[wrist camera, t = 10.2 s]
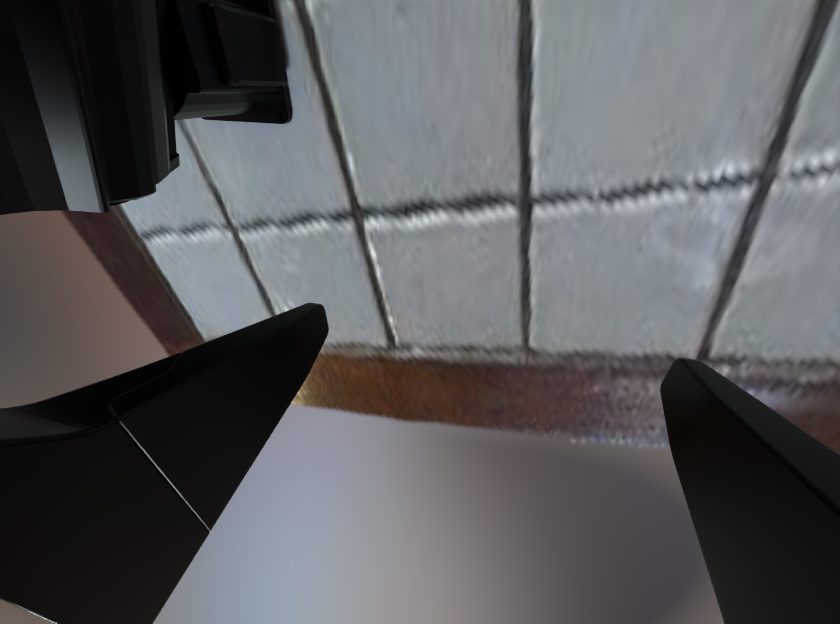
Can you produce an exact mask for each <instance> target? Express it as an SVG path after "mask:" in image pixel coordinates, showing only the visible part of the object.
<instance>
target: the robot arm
mask: <svg viewBox="0 0 840 624" xmlns="http://www.w3.org/2000/svg"><path fill="white" fill-rule="evenodd" d="M281 110H283V111H284V114H285V115H284V118H283V117H282V115H281ZM191 118H202V119H205V120H222V121H240V122H259V123H277V124H285V123H289V122H290V121H291V120H292V110H291V105H290V99H289V93H288V87H287V75H286V69H285V63H284V57H283V52H282V46H281V40H280V34H279V28H278V24H277V23H276V18H275V12H274V7H273V1H272V0H0V215H4V214H11V213H20V212H29V211H50V210H51V211H52V210H74V211H87V212H100V213H106V212H109V211H110V206H113V205H118V204H121V203H125V202H128V201H130V200H136V199H139V198H143V197H146V196H149V195H151V194H153V193H155V192H156V184H158V183H159V182H161V181H162V180H163V179H164V178H165V177H166V176H167V175H169V173H170V172H172V171H173V170H174V169H176V168H177V167H179V165H180V162H179V154H178V153H176V138H175V122H174V120H180V119H191ZM328 331H329V327H328V322H327V317H326V313H325V309H324V307H323V305H321V304H315V303H307V304H304V305H302V306H299V307H296V308H294V309H291V310H289V311H286V312H284V313H281V314H278V315H276V316H273V317H271V318H268V319H265V320H263V321H260V322H258V323H255V324H252V325H250V326H247V327H245V328H242V329H240V330H237V331H234V332H232V333H229V334H227V335H224V336H221V337H219V338H216V339H214V340H211V341H208V342H206V343H203V344H201V345H198V346H196V347H193V348H190V349H188V350H185V351H183V353H177V354H175V355H172V356H169V357H167V358H164V359H162V360H159V361H156V362H154V363H151V364H148V365H146V366H143V367H140V368H137V369H134V370H132V371H129V372H126V373H123V374H120V375H117V376H114V377H112V378H108V379H106V380H102V381H100V382H97V383H93V384H90V385H87V386H84V387H81V388H79V389H75V390H72V391H70V392H67V393H64V394H61V395H58V396H55V397H52V398H49V399H45V400H42V401H39V402H35V403H31V404H27V405H23V406H16V407H10V408H1V409H0V624H153V622H154V621H155V619H156V617H157V616H158V614H159V613H160V611H161V609H162V608H163V606H164V605H165V603H166V601H167V600H168V598H169V597H170V595H171V593H172V592H173V590H174V589H175V587H176V585H177V584H178V582H179V581H180V579H181V577H182V576H183V574H184V573H185V571H186V569H187V568H188V566H189V565H190V563H191V562H192V560H193V558H194V557H195V555H196V554H197V552H198V550H199V549H200V547H201V546H202V544H203V542H204V541H205V539H206V538H207V536H208V535H209V531H210V530H211V529H212V528H213V526H214V525H215V523H216V521H217V520H218V518H219V516H220V515H221V513H222V511H223V510H224V509H225V507H226V505H227V504H228V502H229V501H230V499H231V498H232V496H233V494H234V493H235V491H236V490H237V488H238V486H239V485H240V483H241V482H242V480H243V478H244V477H245V475H246V474H247V472H248V470H249V469H250V467H251V466H252V464H253V462H254V461H255V459H256V458H257V456H258V455H259V453H260V451H261V450H262V448H263V447H264V445H265V443H266V442H267V440H268V439H269V437H270V435H271V434H272V432H273V431H274V429H275V427H276V426H277V424H278V423H279V421H280V419H281V418H282V416H283V415H284V413H285V411H286V409H287V408H288V407H289V405H290V404H291V402H292V400H293V399H294V397H295V396H296V394H297V392H298V391H299V389H300V388H301V386H302V384H303V383H304V381H305V379H306V378H307V376H308V374H309V372H310V370H311V368H312V366H313V364H314V362H315V360H316V358H317V356H318V354H319V352H320V350H321V348H322V345H323V343H324V341H325V339H326V337H327V335H328ZM660 392H661V398H662V404H663V409H664V415H665V421H666V426H667V432H668V437H669V443H670V448H671V452H672V456H673V459H674V463H675V466H676V470H677V472H678V476H679V479H680V482H681V486H682V489H683V492H684V495H685V498H686V502H687V505H688V508H689V511H690V515H691V518H692V521H693V524H694V527H695V531H696V534H697V537H698V540H699V544H700V547H701V550H702V553H703V556H704V560H705V563H706V566H707V569H708V573H709V576H710V579H711V582H712V585H713V589H714V592H715V595H716V598H717V601H718V604H719V608H720V611H721V614H722V618H723V621H724V624H840V455H839V454H837V453H836V452H834V451H833V450H831V449H830V448H828V447H827V446H826V445H824V444H823V443H821V442H820V441H818V440H817V439H815V438H814V437H812V436H811V435H809V434H808V433H806V432H805V431H803V430H802V429H800V428H799V427H797V426H796V425H794V424H793V423H792V422H790V421H789V420H787V419H786V418H784V417H783V416H781V415H780V414H778V413H777V412H775V411H774V410H772V409H771V408H769V407H768V406H766V405H765V404H763V403H762V402H760V401H759V400H758V399H756V398H755V397H753V396H752V395H750V394H749V393H747V392H746V391H744V390H743V389H741V388H740V387H738V386H737V385H735V384H734V383H732V382H731V381H729V380H728V379H727V378H725V377H724V376H722V375H721V374H719V373H718V372H716V371H715V370H713V369H712V368H710V367H709V366H707V365H706V364H704V363H703V362H701V361H699V360H694V359H687V358H678V359H676V360H675V361H674V362H673V364H672V365H671V367H670V369H669V371H668V372H667V374H666V376H665V378H664V380H663V381H662V384H661V389H660Z"/></svg>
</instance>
